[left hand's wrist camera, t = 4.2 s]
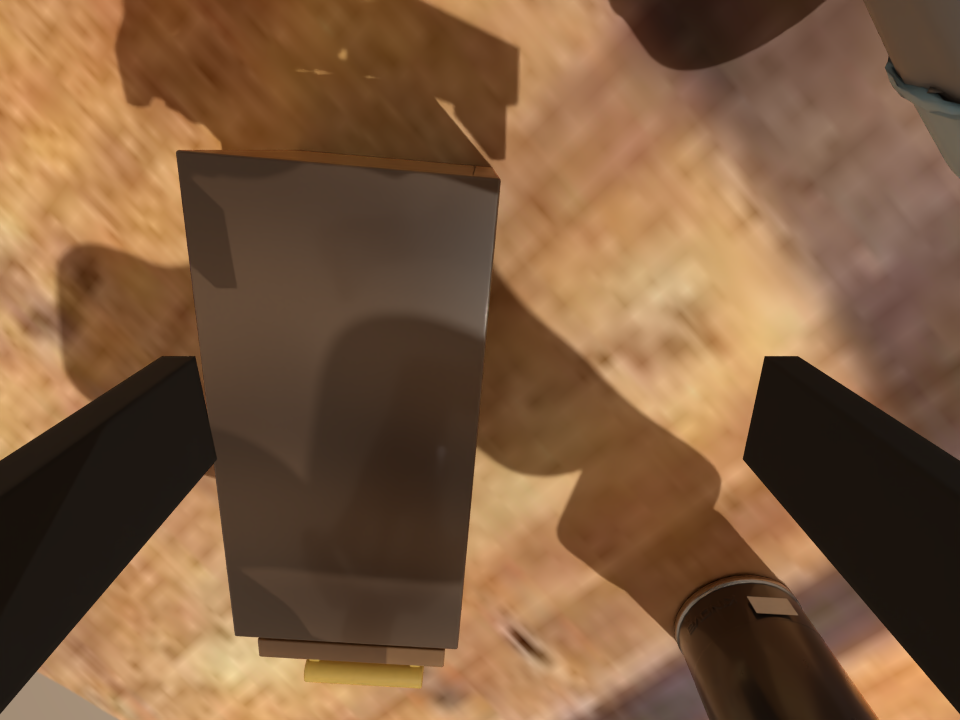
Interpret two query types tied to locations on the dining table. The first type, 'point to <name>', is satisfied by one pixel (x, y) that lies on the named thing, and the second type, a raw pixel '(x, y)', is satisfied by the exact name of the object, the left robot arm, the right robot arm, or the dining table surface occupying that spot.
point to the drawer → (356, 661)
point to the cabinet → (342, 383)
